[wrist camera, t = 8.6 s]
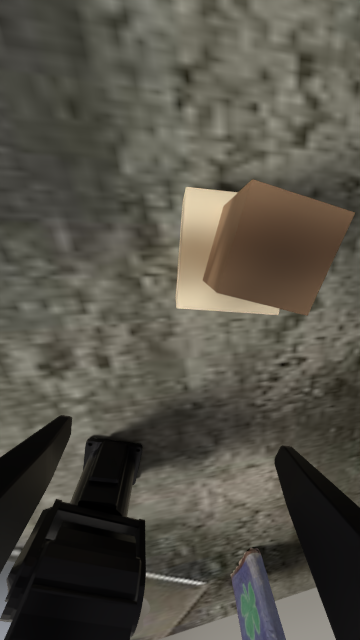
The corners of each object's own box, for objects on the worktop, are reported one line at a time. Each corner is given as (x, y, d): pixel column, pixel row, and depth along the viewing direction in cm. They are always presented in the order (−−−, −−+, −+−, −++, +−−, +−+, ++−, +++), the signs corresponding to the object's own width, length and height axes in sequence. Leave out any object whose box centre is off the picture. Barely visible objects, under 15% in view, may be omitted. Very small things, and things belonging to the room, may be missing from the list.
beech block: (257, 303, 20) (278, 315, 16) (175, 297, 19) (176, 308, 15) (276, 211, 17) (305, 199, 13) (182, 202, 17) (186, 186, 13)
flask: (248, 546, 32) (284, 683, 22) (265, 548, 32) (308, 684, 22) (227, 577, 35) (251, 712, 24) (243, 578, 35) (273, 712, 25)
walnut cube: (265, 296, 15) (307, 315, 11) (202, 280, 15) (216, 292, 10) (292, 226, 14) (355, 212, 9) (223, 205, 13) (252, 179, 9)
